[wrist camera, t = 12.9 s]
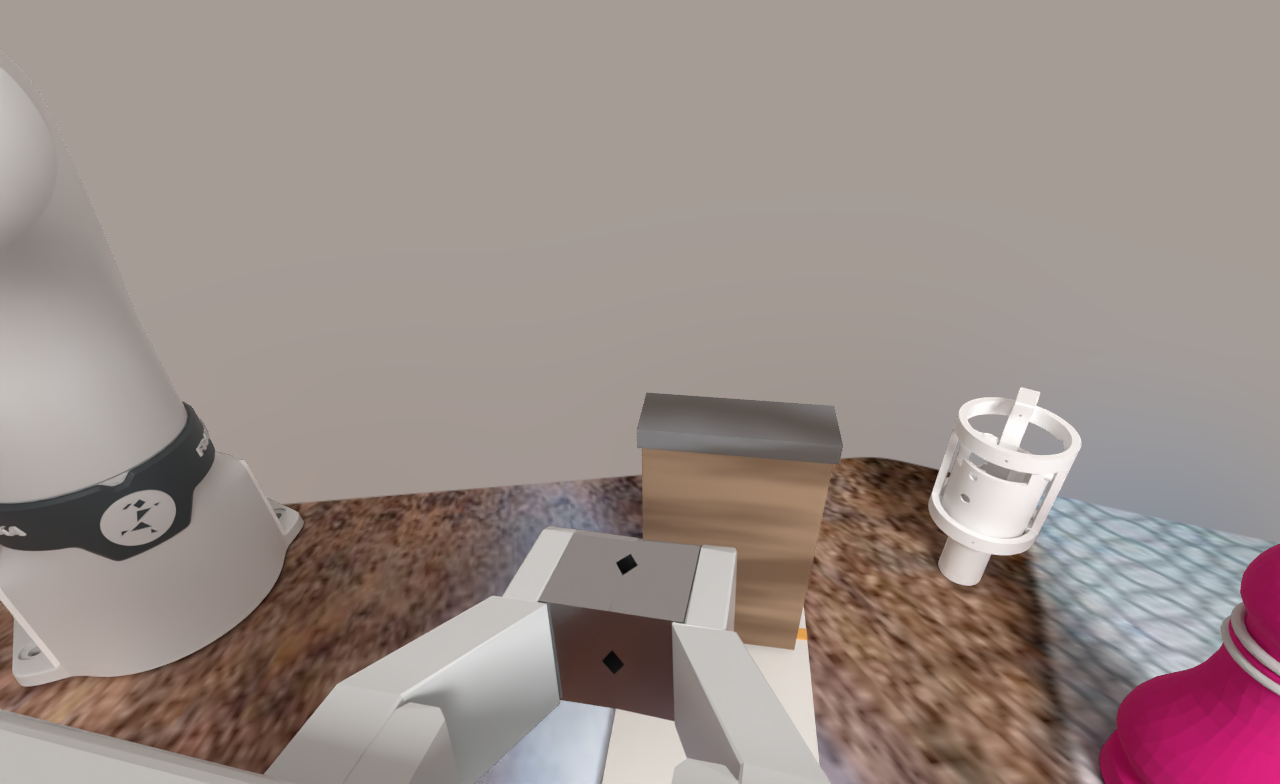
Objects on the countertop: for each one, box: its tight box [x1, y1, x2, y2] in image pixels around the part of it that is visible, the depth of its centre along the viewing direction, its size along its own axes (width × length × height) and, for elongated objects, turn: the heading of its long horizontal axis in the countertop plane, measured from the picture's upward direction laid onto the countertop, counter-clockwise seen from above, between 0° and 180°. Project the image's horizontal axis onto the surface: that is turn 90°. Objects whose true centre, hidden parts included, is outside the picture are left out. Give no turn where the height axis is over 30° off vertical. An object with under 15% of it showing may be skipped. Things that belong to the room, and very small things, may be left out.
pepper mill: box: [1099, 544, 1280, 784], centre depth 27 cm, size 7×7×20 cm
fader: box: [637, 393, 843, 650], centre depth 36 cm, size 4×10×17 cm, turn 81°
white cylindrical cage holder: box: [928, 387, 1081, 586], centre depth 42 cm, size 7×7×15 cm
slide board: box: [602, 606, 819, 784], centre depth 36 cm, size 24×12×2 cm, turn 171°
